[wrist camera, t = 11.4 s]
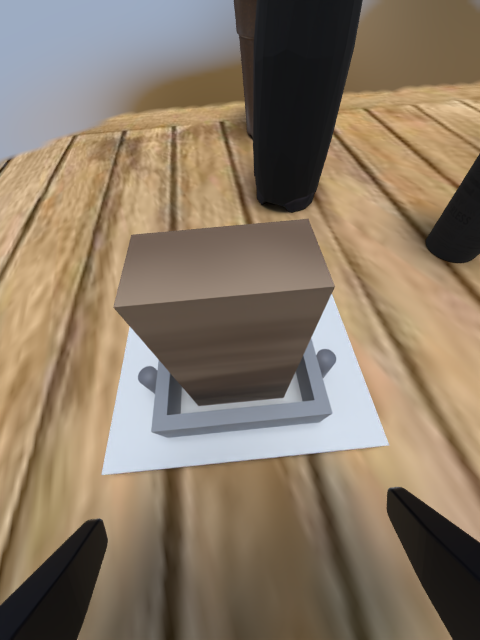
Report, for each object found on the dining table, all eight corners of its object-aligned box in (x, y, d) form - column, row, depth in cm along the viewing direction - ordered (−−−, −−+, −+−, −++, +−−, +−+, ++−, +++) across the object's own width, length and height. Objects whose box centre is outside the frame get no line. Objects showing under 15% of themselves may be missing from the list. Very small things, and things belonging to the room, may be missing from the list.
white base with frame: (378, 446, 16) (418, 440, 12) (113, 474, 16) (69, 476, 12) (316, 273, 25) (328, 238, 21) (144, 290, 24) (124, 257, 20)
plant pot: (246, 113, 49) (244, -23, 36) (325, 115, 47) (356, -30, 33) (226, 148, 41) (214, -12, 27) (321, 154, 38) (360, -19, 25)
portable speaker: (321, 183, 34) (390, -91, 17) (308, 222, 29) (385, -100, 13) (264, 174, 36) (276, -81, 19) (243, 210, 31) (236, -85, 14)
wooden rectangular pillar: (283, 397, 17) (335, 286, 6) (198, 406, 16) (113, 307, 6) (274, 346, 19) (301, 202, 8) (199, 353, 19) (135, 217, 8)
